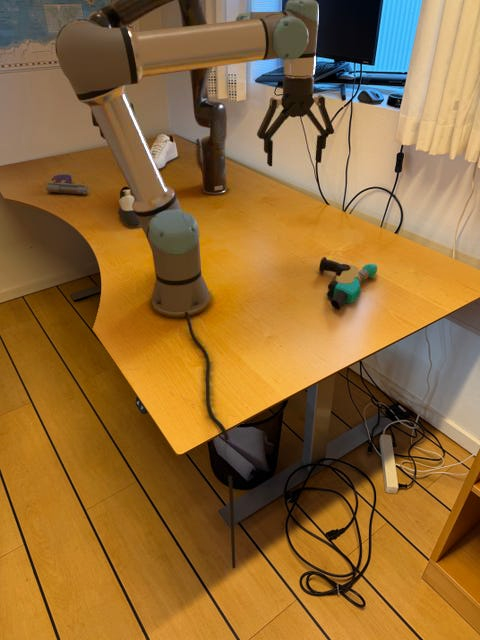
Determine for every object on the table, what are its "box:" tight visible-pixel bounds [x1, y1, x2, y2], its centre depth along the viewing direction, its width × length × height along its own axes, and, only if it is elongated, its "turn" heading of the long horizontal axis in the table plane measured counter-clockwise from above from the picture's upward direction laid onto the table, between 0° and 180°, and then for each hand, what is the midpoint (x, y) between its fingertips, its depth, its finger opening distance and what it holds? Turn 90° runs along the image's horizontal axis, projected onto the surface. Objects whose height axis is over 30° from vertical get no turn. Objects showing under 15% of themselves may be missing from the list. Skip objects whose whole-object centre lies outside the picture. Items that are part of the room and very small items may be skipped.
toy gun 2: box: [318, 256, 378, 312], centre depth 129 cm, size 4×26×15 cm
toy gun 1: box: [45, 173, 89, 195], centre depth 192 cm, size 4×19×15 cm
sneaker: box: [150, 133, 179, 170], centre depth 214 cm, size 10×29×12 cm, turn 163°
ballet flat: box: [117, 186, 141, 229], centre depth 169 cm, size 8×24×8 cm, turn 19°
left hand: (294, 163), depth 129 cm, fingers open, 13 cm apart
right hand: (116, 137), depth 163 cm, fingers open, 8 cm apart
